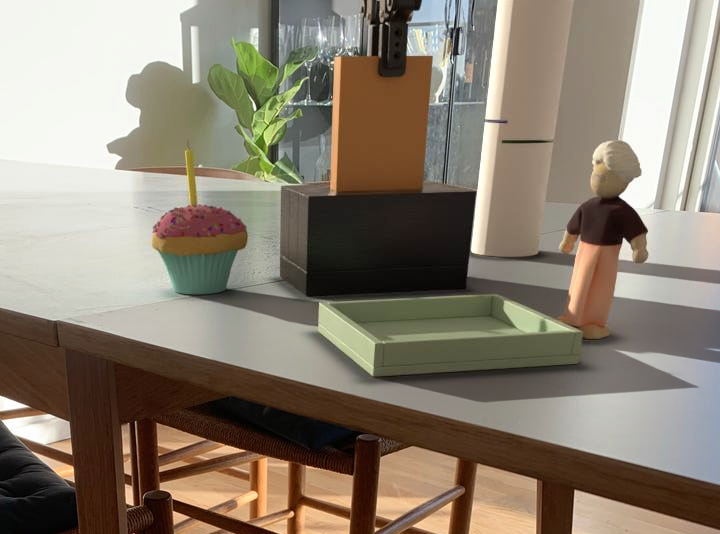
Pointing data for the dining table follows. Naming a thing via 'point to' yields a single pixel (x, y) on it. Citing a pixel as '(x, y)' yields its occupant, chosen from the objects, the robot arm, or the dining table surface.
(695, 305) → the dining table surface
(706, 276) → the dining table surface
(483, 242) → the cylindrical container
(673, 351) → the dining table surface
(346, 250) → the wooden tissue box
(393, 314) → the tray
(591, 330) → the grandmother figurine
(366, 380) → the dining table surface
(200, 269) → the cupcake
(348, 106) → the toast
